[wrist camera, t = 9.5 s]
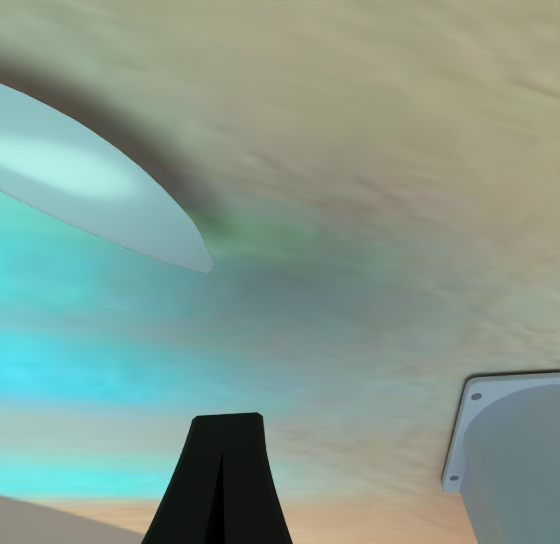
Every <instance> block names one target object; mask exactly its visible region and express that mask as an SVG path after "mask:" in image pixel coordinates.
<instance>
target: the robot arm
mask: <svg viewBox="0 0 560 544" xmlns="http://www.w3.org/2000/svg"><path fill="white" fill-rule="evenodd" d="M441 485H442V488H443V490H444V491H446V492H461V495H462V498H463V501H464V504H465V507H466V510H467V513H468V516H469V519H470V522H471V524H472V527H473V530H474V533H475V536H476V539H477V542H478V544H560V372H559V373H542V374H524V375H507V376H490V377H476V378H472V379H470V380H469V381H468V382H467V383H466V385H465V389H464V393H463V397H462V401H461V405H460V409H459V413H458V418H457V422H456V426H455V430H454V434H453V438H452V442H451V446H450V450H449V454H448V458H447V462H446V466H445V470H444V474H443V478H442V482H441ZM141 544H293V543H292V540H291V537H290V534H289V531H288V528H287V525H286V522H285V519H284V516H283V512H282V509H281V506H280V503H279V499H278V496H277V493H276V489H275V486H274V482H273V478H272V474H271V470H270V466H269V461H268V457H267V452H266V443H265V433H264V423H263V416H262V415H261V414H259V413H257V412H254V413H237V414H220V415H202V416H196V417H195V418H194V419H193V420H192V423H191V426H190V430H189V433H188V436H187V439H186V442H185V445H184V447H183V450H182V453H181V455H180V458H179V461H178V463H177V466H176V468H175V471H174V473H173V476H172V478H171V480H170V483H169V485H168V487H167V490H166V492H165V494H164V496H163V499H162V501H161V503H160V505H159V507H158V510H157V512H156V514H155V516H154V518H153V521H152V523H151V525H150V527H149V529H148V531H147V533H146V535H145V537H144V539H143V541H142V543H141Z"/></svg>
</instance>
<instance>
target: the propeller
mask: <svg viewBox="0 0 560 544" xmlns="http://www.w3.org/2000/svg"><path fill="white" fill-rule="evenodd" d="M0 191H1V192H3V193H5V194H7V195H9V196H11V197H13V198H15V199H17V200H19V201H21V202H23V203H25V204H27V205H29V206H31V207H33V208H35V209H37V210H40V211H42V212H44V213H46V214H48V215H50V216H52V217H55V218H57V219H59V220H61V221H63V222H66V223H68V224H70V225H72V226H75V227H77V228H79V229H81V230H84V231H86V232H88V233H90V234H93V235H95V236H97V237H100V238H102V239H105V240H107V241H110V242H112V243H115V244H117V245H120V246H122V247H125V248H127V249H130V250H132V251H135V252H138V253H140V254H143V255H145V256H148V257H151V258H153V259H156V260H159V261H162V262H165V263H168V264H171V265H174V266H178V267H182V268H186V269H190V270H194V271H197V272H201V273H205V274H208V273H209V272H210V271H211V269H212V268H213V266H214V262H213V260H212V257H211V255H210V253H209V251H208V249H207V247H206V245H205V243H204V241H203V238H202V236H201V234H200V232H199V231H198V229H197V227H196V225H195V224H194V222H193V221H192V219H191V218H190V217H189V216H188V215H187V214H186V212H185V211H184V210H183V209H182V208H181V207H180V206H179V205H178V204H177V203H176V202H175V201H174V200H173V198H172V197H171V196H170V195H169V194H168V193H167V192H166V191H165V190H164V189H163V188H162V187H161V186H160V185H159V184H158V183H157V182H156V181H155V180H154V179H153V178H152V177H150V176H149V175H148V174H147V173H146V172H145V171H144V170H143V169H142V168H141V167H140V166H138V165H137V164H136V163H135V162H133V161H132V160H131V159H130V158H128V157H127V156H126V155H125V154H123V153H122V152H121V151H120V150H118V149H117V148H116V147H114V146H113V145H111V144H110V143H109V142H107V141H106V140H104V139H103V138H101V137H100V136H99V135H97V134H96V133H94V132H93V131H91V130H90V129H88V128H87V127H85V126H83V125H82V124H80V123H79V122H77V121H76V120H74V119H72V118H70V117H68V116H67V115H65V114H63V113H61V112H59V111H57V110H55V109H54V108H52V107H50V106H48V105H46V104H44V103H42V102H40V101H38V100H36V99H34V98H32V97H30V96H28V95H26V94H24V93H22V92H19V91H17V90H14V89H12V88H10V87H7V86H5V85H3V84H0Z"/></svg>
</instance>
